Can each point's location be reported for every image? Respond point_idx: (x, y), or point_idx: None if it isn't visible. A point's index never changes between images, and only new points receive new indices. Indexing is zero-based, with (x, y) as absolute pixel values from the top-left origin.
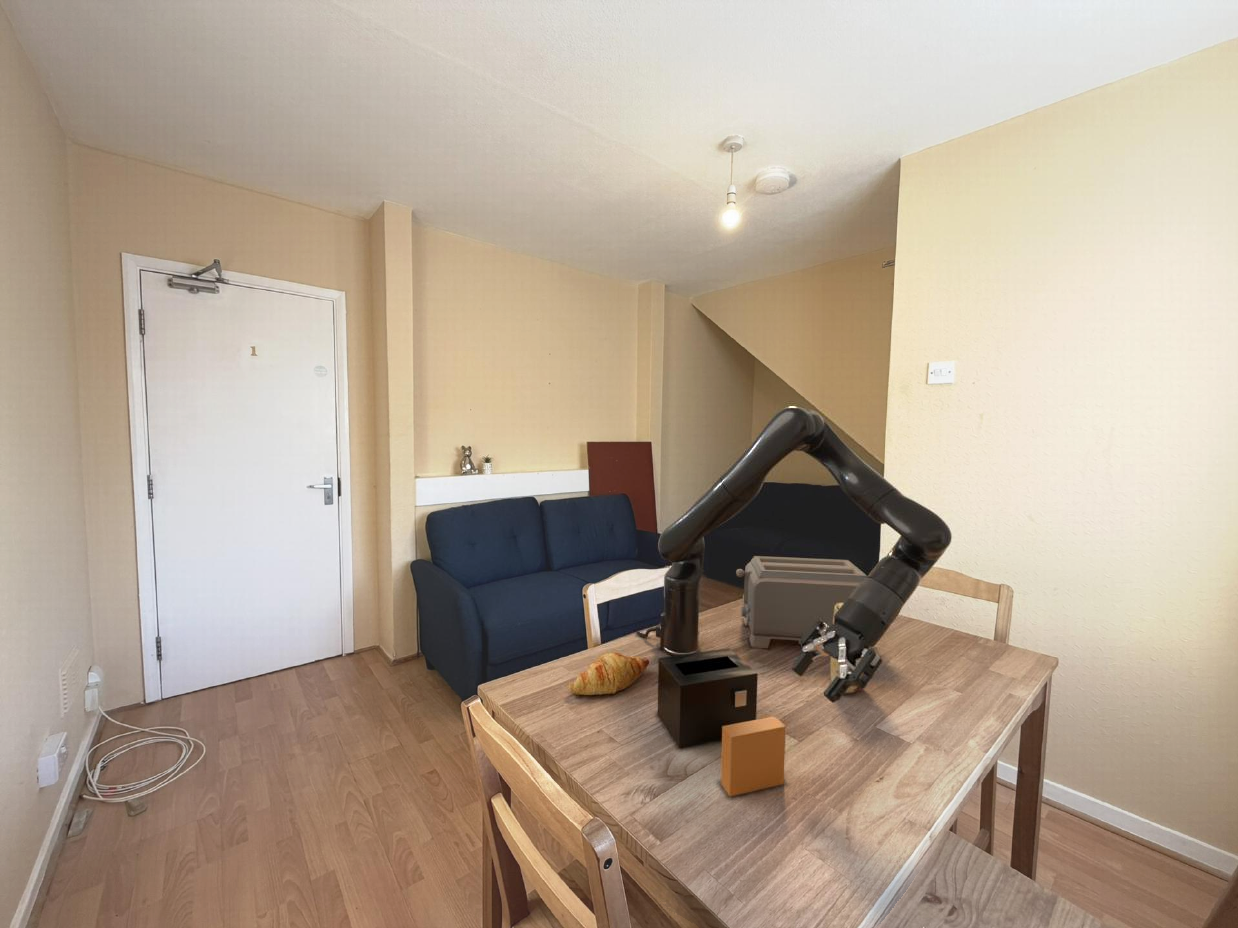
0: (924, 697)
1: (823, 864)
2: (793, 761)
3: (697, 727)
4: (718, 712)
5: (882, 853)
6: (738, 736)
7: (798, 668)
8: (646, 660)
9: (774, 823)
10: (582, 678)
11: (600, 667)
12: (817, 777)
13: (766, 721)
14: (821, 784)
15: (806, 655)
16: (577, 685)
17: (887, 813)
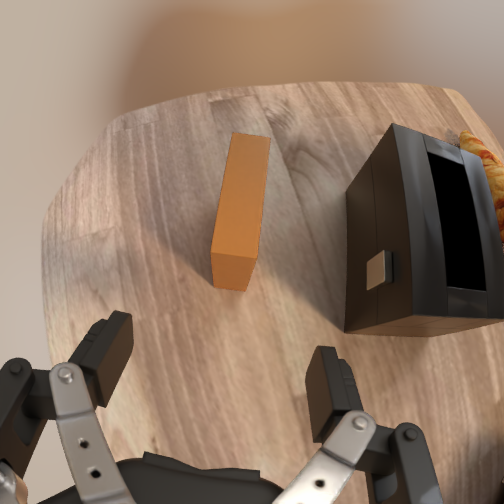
0: None
1: (89, 230)
2: (252, 346)
3: (358, 203)
4: (369, 234)
5: (62, 312)
6: (230, 145)
7: (316, 365)
8: None
9: (161, 218)
10: (474, 138)
11: (491, 157)
12: (201, 354)
13: (246, 224)
14: (185, 347)
15: (329, 409)
16: (465, 135)
17: None
